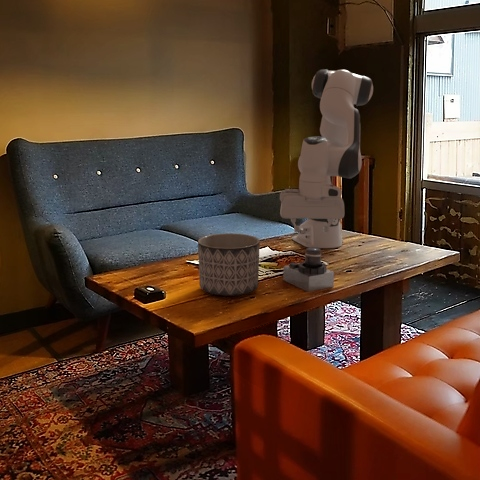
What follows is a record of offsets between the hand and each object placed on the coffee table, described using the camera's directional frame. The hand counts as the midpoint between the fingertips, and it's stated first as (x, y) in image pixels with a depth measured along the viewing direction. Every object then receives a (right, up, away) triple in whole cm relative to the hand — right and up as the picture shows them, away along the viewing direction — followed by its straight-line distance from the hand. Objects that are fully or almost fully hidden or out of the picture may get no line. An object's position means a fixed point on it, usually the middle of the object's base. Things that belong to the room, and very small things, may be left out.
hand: (311, 231), depth 199 cm
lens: (+1, -13, +2) cm, 13 cm away
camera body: (0, -17, +6) cm, 18 cm away
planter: (-26, -19, -1) cm, 33 cm away
